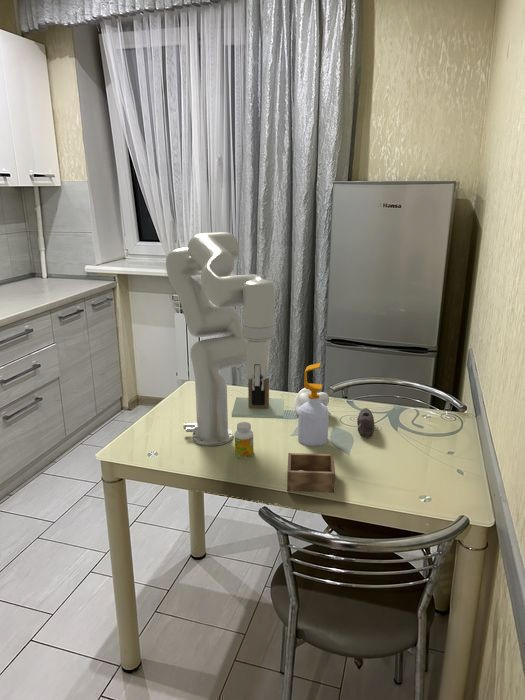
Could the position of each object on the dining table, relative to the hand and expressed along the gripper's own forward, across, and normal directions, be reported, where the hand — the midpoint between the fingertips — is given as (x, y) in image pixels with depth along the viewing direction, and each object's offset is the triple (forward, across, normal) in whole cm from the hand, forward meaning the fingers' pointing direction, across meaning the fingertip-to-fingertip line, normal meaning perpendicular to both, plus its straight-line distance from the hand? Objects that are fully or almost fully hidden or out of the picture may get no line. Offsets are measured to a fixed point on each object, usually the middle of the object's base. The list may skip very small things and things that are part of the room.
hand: (258, 401), depth 133 cm
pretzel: (+24, -43, +14) cm, 51 cm away
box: (+23, +1, +14) cm, 27 cm away
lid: (+2, 0, 0) cm, 2 cm away
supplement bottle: (+23, -14, -5) cm, 27 cm away
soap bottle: (+23, -24, +15) cm, 37 cm away
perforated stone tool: (+23, -32, +32) cm, 51 cm away
